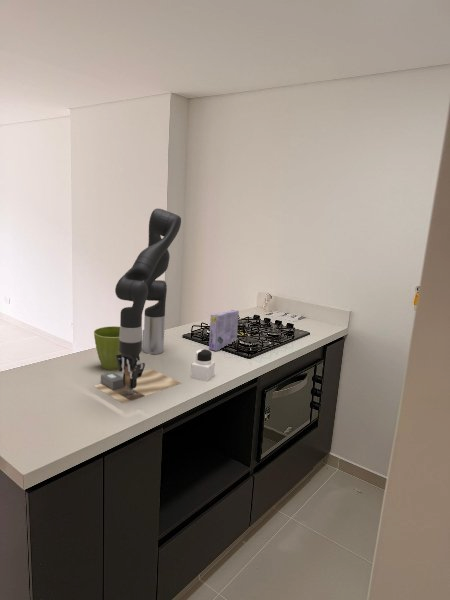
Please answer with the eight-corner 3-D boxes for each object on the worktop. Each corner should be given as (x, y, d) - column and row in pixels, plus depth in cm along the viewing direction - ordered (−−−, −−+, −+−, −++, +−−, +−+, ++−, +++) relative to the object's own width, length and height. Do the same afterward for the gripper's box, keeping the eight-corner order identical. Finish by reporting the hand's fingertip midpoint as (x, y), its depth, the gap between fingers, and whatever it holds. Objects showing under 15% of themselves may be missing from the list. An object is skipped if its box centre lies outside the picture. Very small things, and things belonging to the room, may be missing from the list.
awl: (122, 392, 144) (123, 365, 142) (130, 390, 146) (131, 363, 144) (128, 396, 142) (129, 368, 140) (136, 393, 144) (136, 366, 142)
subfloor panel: (93, 389, 148) (93, 385, 148) (151, 372, 167) (151, 369, 167) (122, 407, 137) (122, 403, 136) (181, 386, 156) (181, 383, 156)
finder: (100, 382, 151) (100, 373, 150) (113, 379, 155) (113, 370, 154) (112, 390, 146) (112, 380, 145) (124, 386, 149) (125, 377, 149)
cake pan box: (230, 341, 216) (232, 308, 212) (238, 343, 213) (241, 310, 210) (207, 349, 201) (209, 314, 197) (215, 352, 198) (218, 316, 194)
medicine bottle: (213, 378, 166) (215, 349, 164) (207, 384, 160) (209, 355, 157) (197, 375, 168) (199, 346, 166) (190, 381, 162) (191, 351, 159)
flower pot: (139, 371, 168) (140, 333, 165) (106, 379, 157) (107, 339, 154) (118, 360, 178) (119, 324, 175) (86, 368, 167) (86, 330, 164)
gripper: (152, 341, 138) (151, 390, 142) (127, 331, 147) (126, 377, 151) (134, 345, 133) (132, 396, 136) (109, 335, 142) (108, 382, 145)
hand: (129, 386), depth 143 cm, fingers closed on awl, 3 cm apart
